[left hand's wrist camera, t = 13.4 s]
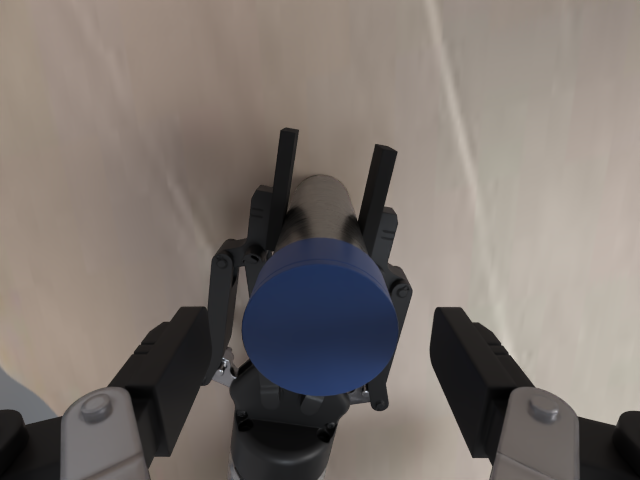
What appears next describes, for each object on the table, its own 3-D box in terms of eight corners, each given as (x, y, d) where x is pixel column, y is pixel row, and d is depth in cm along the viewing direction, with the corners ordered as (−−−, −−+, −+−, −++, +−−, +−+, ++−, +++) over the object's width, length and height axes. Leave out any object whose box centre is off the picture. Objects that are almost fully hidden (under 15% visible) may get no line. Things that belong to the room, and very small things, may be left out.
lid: (272, 361, 14) (263, 406, 12) (239, 250, 13) (221, 279, 10) (393, 341, 14) (407, 384, 12) (376, 225, 12) (388, 250, 10)
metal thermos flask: (298, 236, 27) (271, 389, 12) (286, 181, 26) (237, 279, 11) (354, 226, 27) (394, 370, 12) (345, 169, 26) (377, 255, 11)
